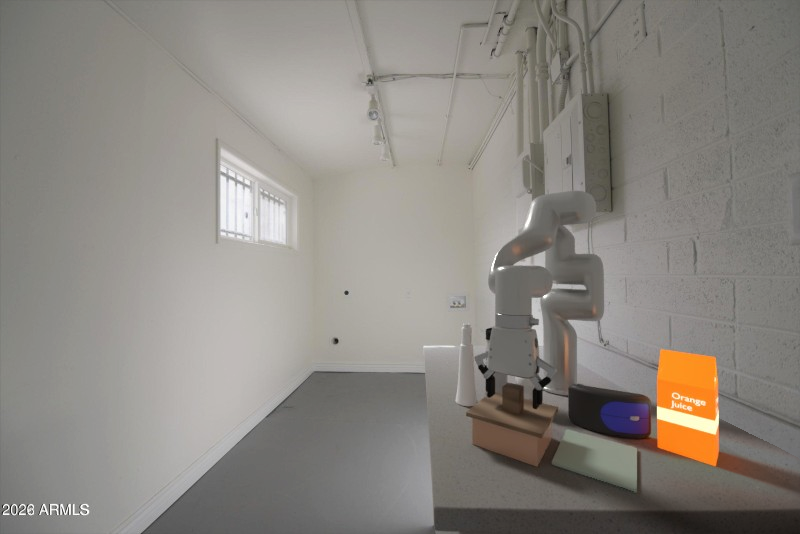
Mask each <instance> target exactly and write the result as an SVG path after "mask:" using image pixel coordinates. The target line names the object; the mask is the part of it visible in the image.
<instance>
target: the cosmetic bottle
mask: <svg viewBox="0 0 800 534" xmlns="http://www.w3.org/2000/svg"><path fill="white" fill-rule="evenodd" d="M471 325H472V324H470V323H467V322H464V323H462V326H461V343H460V344H459V353H458V354H459V357H458V358H459V359H458V376H457V387H456V389H457V390H456V395H455V402H456V404H457V405H460V406H463V407H473V406H474V405H476V404H477V403H478V399H477V391H476V380H475V358H474V357H475V356H474V345H473V344H472V342H473V340H472V327H471Z"/></svg>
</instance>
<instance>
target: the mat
mask: <svg viewBox="0 0 800 534" xmlns="http://www.w3.org/2000/svg"><path fill="white" fill-rule="evenodd" d="M551 465H552V466H555V467H558V468H561V469H565V470H567V471H570V472H573V473H577V474H579V475H582V476H584V477H587V476H588V478H590V477H592V479H593V478H595V479H594V480H596V479H597V481H599V480H601V481H600V482H602V481H604V482H603V483H605V482H608V483H611V484H614V485H617V486H620V487H624V488H627V489H630V490H632V491H635V492H637V493H638V448H637V447H635V446H630V445H627V444H624V443H619V442H616V441H613V440H609V439H606V438H605V439H604V438H601V437H598V436H594V435H590V434H587V433H584V432H579V431H576V430H571V429H566V430H565V432H564V434H563V436H562V439H561V441H560V443H559V445H558V447H557V449H556V452H555V454H554V456H553V457H552V460H551ZM608 483H607V484H608ZM611 484H610V485H611ZM614 485H613V486H614ZM617 486H616V487H617ZM620 487H619V488H620ZM632 491H631V492H632ZM635 492H634V493H635Z"/></svg>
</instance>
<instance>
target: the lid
mask: <svg viewBox="0 0 800 534" xmlns="http://www.w3.org/2000/svg"><path fill="white" fill-rule="evenodd" d="M558 412H559V407H558V406H557V405H556V406H555V405H552V404H548V403H543V402H542V405H539V407H538V408H537V409H534V408H533V401H531V400H527V399H524V386H522V385H518V384H516V383H511V382H508V381H507V383H506V384H505V385H504V386H503V387H502V394H501V393H497V392H495V394H494V395H493V396H492V397H490V398H488V397H487V396H486V395H485V396H484V397H483V398H482V399H480V400H479V401H477V404H476V405H474V406H471V408H469V409H468V410H467V411H466V412H465V416H466V417H469V418H472V419H473V418H475V419H478V420H481V421H485V422H488V423H491V424H495V425H498V426H501V427H505V428H508V429H512V430H515V431H518V432H522V433H525V434H528V435H532V436H535V437H538V438H542V437H543V435H544V434H545V432H546V430H547V428H548V427H549V425H550V423H551V422H552V423H553V420H554V418H555V416H556V415H557V413H558Z"/></svg>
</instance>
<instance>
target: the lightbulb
mask: <svg viewBox="0 0 800 534" xmlns="http://www.w3.org/2000/svg"><path fill="white" fill-rule="evenodd" d="M538 375H539V373H538ZM539 376H540V375H539ZM514 381H515V384H518V385H522V386H524V399H527V400H531V401H533V389H534V385H533V384H532V383H531V381H530V380H529V379H526V378H520V377H515V376H514Z"/></svg>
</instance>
